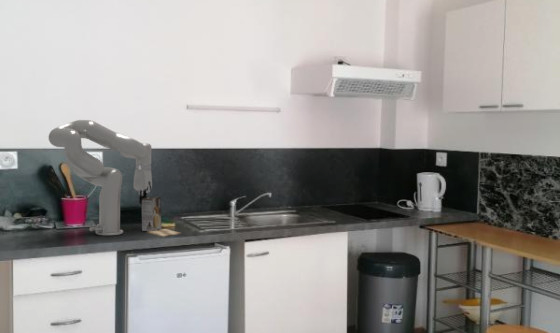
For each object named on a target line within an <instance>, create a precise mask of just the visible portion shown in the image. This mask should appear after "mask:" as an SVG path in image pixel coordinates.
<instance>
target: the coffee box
mask: <svg viewBox="0 0 560 333" xmlns="http://www.w3.org/2000/svg"><path fill="white" fill-rule="evenodd" d="M161 200H162V199H161V196H149V197H147V198H143V199H141V203H142V204H141V230H142V231H143V232H147V231H155V230H161V229H162V209H161V205H162V202H161Z"/></svg>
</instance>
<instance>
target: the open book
mask: <svg viewBox="0 0 560 333" xmlns="http://www.w3.org/2000/svg"><path fill="white" fill-rule="evenodd" d="M146 233H147V234H151V235H154V236H158V237H163V238H164V237H165V238H166V237H171V236H176V235H182V232H179V231H175V230H171V229H168V228H160V229H157V230H155V231H146Z"/></svg>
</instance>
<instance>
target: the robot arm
mask: <svg viewBox="0 0 560 333" xmlns="http://www.w3.org/2000/svg"><path fill="white" fill-rule="evenodd" d="M82 139H86V140H89V141H91V142H93V143H95V144H98V145H100V146H101V147H103V148H106V149H110V150H114V151H119V153H120V155H121V156H123V157H124V158H128V159H135V170H134V175H133V176H134V177H133V184H132V185H133V189H134V190H135V191H136V192H137V193H138V196H139V199H138V200H139V204H140V205H142V203H141V199H143V198H148V197H147V196H148V194H150V193H151V190H152V189H153V176H152V175H153V174H152V145H151V144H150V143H146V142H145V143H144V142H143V143H142V142H140V141H138V140H136V139H134V138H132V137H130V136H126V135H125V134H121V133H119V132H116V131H114V130H111V129H109V128H107V127H105V126H104V125H102V124H101V123H98V122H96V121H93V120H89V119H79V120H77V119H76V120H74V121H72V122H71V121H70V122H68V123H66V124H64V125H60V126H57V127H54V128H53V129H51V131H50V132H49V134H48V141H49V143H50V144H51V145H52V146H53V147H56V148H64V156H65V159H66V162H68V163H69V165H71V169H72V171H73V173H74V174H75V176H78V178H80V179H83V180H84V181H86V182H88V183H90V184H91V185H93V186H97V187H101V190H100V193H99V197H98V198H99V200H98V204H99V205H98V206H99V207H98V210H99V212H98V213H99V215H98V216H99V217H98V223H97V224H96V226H90V227H89V230H88V231H90V232H95V234H96V235H97V236H98V235H99V236H105V237H106V236H109V237H110V236H118V235H121V234H122V235H123V233H124V230H123V229H121V193H122V192H121V189H122V185H123V174H122V172H121V171H120V170H119V169H118V168H116V167H115V168H114V167H110V166H107V167H106V166H105V165H104V163H103V162H102V161H101V160H100V159H99V158H97V157H96V156H94V155H91V154H90V153H89V152H87V150H85V149H83V146H82Z"/></svg>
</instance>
